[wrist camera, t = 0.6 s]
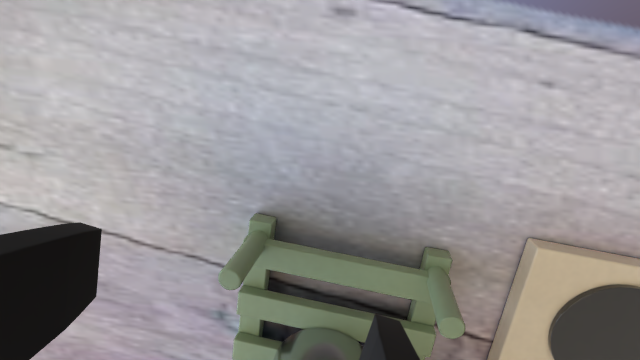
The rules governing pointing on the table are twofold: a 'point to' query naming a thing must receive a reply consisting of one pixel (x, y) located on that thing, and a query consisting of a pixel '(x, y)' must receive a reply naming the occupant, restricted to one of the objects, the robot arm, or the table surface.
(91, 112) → the table surface
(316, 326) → the rack
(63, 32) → the table surface
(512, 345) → the hob
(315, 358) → the pot
